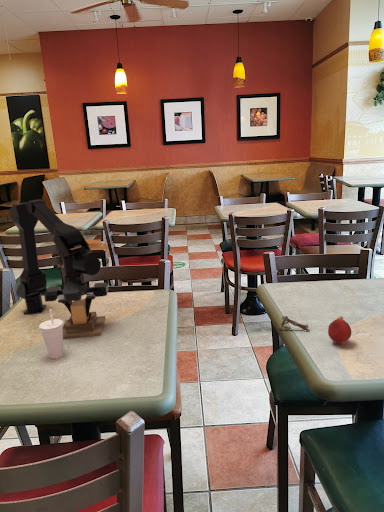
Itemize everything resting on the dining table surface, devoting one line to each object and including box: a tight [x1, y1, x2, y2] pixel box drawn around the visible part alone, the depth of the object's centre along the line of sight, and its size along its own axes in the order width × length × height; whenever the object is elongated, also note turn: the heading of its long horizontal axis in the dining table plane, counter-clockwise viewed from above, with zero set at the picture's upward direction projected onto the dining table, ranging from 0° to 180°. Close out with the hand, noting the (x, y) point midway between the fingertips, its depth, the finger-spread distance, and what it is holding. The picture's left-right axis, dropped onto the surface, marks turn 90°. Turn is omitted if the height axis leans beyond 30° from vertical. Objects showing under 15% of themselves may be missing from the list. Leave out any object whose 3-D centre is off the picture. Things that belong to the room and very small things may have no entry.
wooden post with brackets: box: [278, 315, 309, 331], centre depth 115 cm, size 2×8×4 cm, turn 80°
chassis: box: [63, 311, 106, 340], centre depth 126 cm, size 13×13×3 cm
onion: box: [327, 315, 352, 345], centre depth 105 cm, size 6×6×8 cm
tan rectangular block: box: [70, 298, 89, 325], centre depth 125 cm, size 6×4×7 cm, turn 6°
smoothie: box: [38, 308, 64, 360], centre depth 108 cm, size 6×6×14 cm
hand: (80, 316), depth 125 cm, fingers closed on tan rectangular block, 4 cm apart
